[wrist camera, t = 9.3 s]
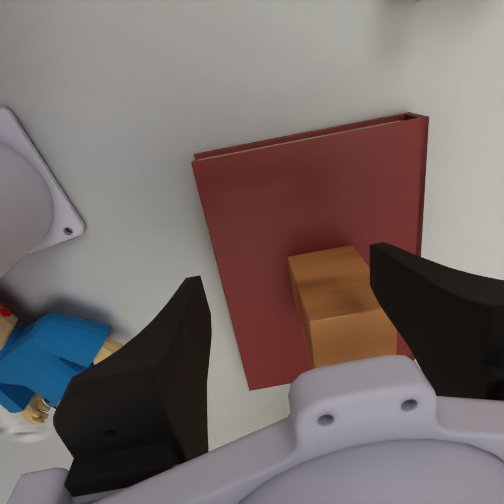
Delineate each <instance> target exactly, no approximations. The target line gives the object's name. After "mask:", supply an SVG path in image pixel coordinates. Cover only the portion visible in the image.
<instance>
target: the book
mask: <svg viewBox="0 0 504 504" xmlns="http://www.w3.org/2000/svg"><path fill="white" fill-rule="evenodd" d="M428 125H429V117H428V116H423V115H419V114H414V113H411V112H408V113H403V114H398V115H393V116H388V117H383V118H377V119H372V120H367V121H362V122H357V123H352V124H347V125H341V126H336V127H331V128H326V129H321V130H316V131H310V132H305V133H300V134H295V135H290V136H285V137H279V138H274V139H269V140H264V141H259V142H254V143H248V144H243V145H238V146H233V147H228V148H223V149H218V150H212V151H207V152H202V153H197V154H194V157H195V161H192V162H191V164H192V168H193V172H194V175H195V179H196V183H197V187H198V191H199V195H200V199H201V203H202V207H203V211H204V215H205V219H206V222H207V226H208V230H209V234H210V238H211V242H212V246H213V250H214V254H215V258H216V262H217V266H218V270H219V273H220V277H221V281H222V285H223V289H224V293H225V297H226V301H227V305H228V309H229V313H230V317H231V321H232V324H233V328H234V332H235V336H236V340H237V344H238V348H239V352H240V356H241V360H242V364H243V368H244V372H245V375H246V379H247V383H248V387H249V391H251V390H256V389H262V388H267V387H273V386H278V385H283V384H289V383H292V382H293V381H294V380H295V379H296V378H297V377H298V376H299V375H300V374H302V373H304V372H306V371H309V370H312V366H311V363H310V360H309V356H308V353H307V350H306V346H305V343H304V340H303V336H302V333H301V329H300V326H299V323H298V319H297V316H296V313H295V309H294V303H293V296H292V289H291V282H290V275H289V268H288V261H287V257H290V256H295V255H300V254H306V253H311V252H316V251H321V250H327V249H332V248H337V247H343V246H348V245H353V246H354V248H355V249H356V250H357V252H358V253H359V254H360V256H361V257H362V259H363V260H364V261H365V263H366V264H367V265H368V267H369V268H370V244H376V243H381V242H386V243H389V244H391V245H394V246H396V247H399V248H401V249H403V250H405V251H408V252H410V253H412V254H415V255H417V256H420V257H421V243H422V226H423V209H424V193H425V176H426V159H427V142H428ZM396 355H405V356H406V357H408V358H410V359H411V360H413V361H414V360H415V357H414V355H413V353H412V352H411V350H410V348H409V347H408V345H407V344H406V342H405V341H404V339H403V338H402V336H401V335H400V334H399V332H398V331H397V341H396Z"/></svg>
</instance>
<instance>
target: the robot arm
mask: <svg viewBox="0 0 504 504" xmlns="http://www.w3.org/2000/svg"><path fill="white" fill-rule="evenodd" d="M66 228H70V229H71V230H72V232H73V233H70V232H68V231H67V230H66ZM84 231H85V224H84V223H83V221H82V219H81V218H80V216H79V215H78V213H77V212H76V210H75V209H74V207H73V206H72V204H71V202H70V201H69V199H68V198H67V196H66V195H65V193H64V192H63V190H62V188H61V187H60V185H59V184H58V182H57V181H56V179H55V178H54V176H53V175H52V173H51V171H50V170H49V168H48V167H47V165H46V164H45V162H44V161H43V159H42V158H41V156H40V154H39V153H38V151H37V150H36V148H35V147H34V145H33V144H32V142H31V141H30V139H29V137H28V136H27V134H26V133H25V131H24V130H23V128H22V127H21V125H20V124H19V122H18V120H17V119H16V117H15V116H14V114H13V113H12V112H11V110H10V109H8V108H7V107H4V106H0V278H1V277H2V276H3V275H4V274H5V273H7V272H8V271H9V270H10V269H11V268H12V267H13V266H14V265H15V264H16V263H17V262H18V261H19V260H20V259H21V258H23V257H24V256H27V255H29V254H32V253H35V252H37V251H40V250H42V249H45V248H48V247H50V246H53V245H56V244H58V243H61V242H63V241H66V240H69V239H71V238H74V237H77V236H79V235H81V234H83V232H84ZM370 287H371V289H372V291H373V293H374V295H375V297H376V299H377V301H378V303H379V305H380V306H381V308H382V309H383V311H384V312H385V314H386V315H387V317H388V318H389V319H390V321H391V322H392V324H393V325H394V326H395V328H396V329H397V331H398V332H399V334H400V335H401V336H402V338H403V339H404V341H405V342H406V344H407V345H408V347H409V348H410V350H411V352H412V353H413V355H414V357H415V359H416V361H417V363H418V364H419V366H420V368H421V369H420V368H419V366H418V365H417V363H416V362H415V361H413V360H411V359H410V358H408V357H406V356H405V355H384V356H378V357H373V358H367V359H362V360H356V361H350V362H345V363H339V364H334V365H328V366H323V367H317V368H314V369H312V370H309V371H306V372H304V373H302V374H300V375H299V376H298V377H297V378H296V379H295V380H294V381H293V382H292V383H291V385H290V390H289V395H288V398H289V404H290V415H289V416H288V417H287V418H285V419H283V420H280V421H278V422H276V423H273V424H271V425H269V426H267V427H264V428H262V429H260V430H258V431H255V432H253V433H251V434H248V435H246V436H244V437H242V438H239V439H237V440H235V441H233V442H230V443H228V444H226V445H223V446H221V447H219V448H217V449H214V450H212V451H210V452H208V427H207V377H208V367H209V357H210V347H211V335H212V331H211V313H210V310H209V306H208V302H207V299H206V295H205V291H204V288H203V284H202V280H201V277H200V276H195V277H189V278H186V279H185V280H184V281H183V283H182V284H181V285H180V287H179V288H178V290H177V291H176V292H175V294H174V295H173V296H172V298H171V299H170V300H169V302H168V303H167V304H166V305H165V307H164V308H163V309H162V310H161V311H160V312H159V314H158V315H157V316H156V317H155V318H154V319H153V320H152V321H151V322H150V323H149V324H148V325H147V326H146V327H145V328H144V329H143V330H142V331H141V332H140V333H139V334H138V335H137V336H135V337H134V338H133V339H131V340H130V341H129V342H128V343H126V344H125V345H124V346H123V347H121V348H120V349H119V350H117V351H116V352H114V353H113V354H111V355H110V356H108V357H107V358H105V359H104V360H102V361H100V362H99V363H97V364H95V365H94V366H92V367H90V368H88V369H86V370H84V371H83V372H81V373H79V374H77V375H75V376H73V377H72V378H71V380H70V382H69V384H68V386H67V388H66V390H65V392H64V394H63V396H62V398H61V400H60V402H59V405H58V407H57V409H56V411H55V414H54V416H53V425H54V427H55V429H56V432H57V433H58V435H59V436H60V438H61V439H62V441H63V442H64V444H65V445H66V447H67V449H68V450H69V451H70V453H71V455H72V456H73V457H74V460H73V462H72V465H71V468H70V471H68V470H67V469H64V468H53V469H47V470H42V471H36V472H31V473H25V474H23V475H21V476H20V478H19V480H18V482H17V484H16V486H15V488H14V490H13V492H12V494H11V496H10V498H9V500H8V502H7V504H504V280H499V279H494V278H488V277H483V276H479V275H474V274H470V273H467V272H463V271H459V270H456V269H453V268H449V267H446V266H443V265H441V264H438V263H435V262H432V261H430V260H427V259H425V258H422V257H420V256H417V255H415V254H412V253H410V252H408V251H405V250H403V249H401V248H399V247H396V246H394V245H391V244H389V243H386V242H381V243H376V244H370ZM421 370H422V371H421Z"/></svg>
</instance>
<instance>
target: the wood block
mask: <svg viewBox="0 0 504 504" xmlns="http://www.w3.org/2000/svg"><path fill="white" fill-rule="evenodd" d="M287 261H288V268H289V275H290V282H291V289H292V296H293V303H294V309H295V313H296V316H297V319H298V323H299V326H300V329H301V333H302V336H303V340H304V343H305V346H306V350H307V353H308V356H309V360H310V363H311V366H312V369H314V368H317V367H323V366H328V365H334V364H339V363H345V362H350V361H356V360H362V359H367V358H373V357H378V356H384V355H396V341H397V329H396V328H395V326H394V325H393V324H392V322H391V321H390V319H389V318H388V317H387V315H386V314H385V312H384V311H383V309H382V308H381V306H380V305H379V303H378V301H377V299H376V297H375V295H374V293H373V291H372V289H371V287H370V268H369V267H368V265H367V264H366V263H365V261H364V260H363V259H362V257H361V256H360V254H359V253H358V252H357V250H356V249H355V248H354V246H353V245H348V246H343V247H337V248H332V249H327V250H321V251H316V252H311V253H306V254H300V255H295V256H290V257H287Z"/></svg>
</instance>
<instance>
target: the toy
mask: <svg viewBox="0 0 504 504" xmlns="http://www.w3.org/2000/svg"><path fill="white" fill-rule="evenodd" d="M17 320H18V318H17V317H15V316H14V315H13V313H12V312H11V311H10V310H9V309H7V308H6V307H5V306H3V305H2V304H1V303H0V404H1V405H2V406H3V407H4V408H6V409H7V410H8V411H9V412H11V413H17V412H21V414H22V416H23V417H24V418H25V419H26V420H27V421H29V422H31V423H32V424H43V423H44V419H47V418H48V414H47V413H44V412H42V411H49V410H50V408H49V407H47V406H46V405H45V404H44V403H43V401H42V398H43V400H44V401H45V402H46V404H47V405H48V406H50V407H53V408H55V409H57V407H58V405H59V402H60V400H61V398H62V396H63V394H64V392H65V390H66V388H67V386H68V384H69V382H70V380H71V378H72V377H73V376H75V375H77V374H79V373H81V372H83V371H84V370H86V369H88V368H90V367H92V366H94V365H95V364H97V363H99V362H100V361H102V360H104V359H105V358H107V357H108V356H110V355H111V354H113V353H114V352H116V351H117V350H119V349H120V348H121V347H123V345H122V344H121V343H119V342H116V341H114V340H112V339H109V338H107V336H108V334H109V332H110V329H111V326H109V325H105V324H102V323H98V322H95V321H91V320H88V319H84V318H78V317H73V316H67V315H62V314H56V313H50V314H46V315H44V316H42V317H41V318H39V319H38V321H37V322H34V323H32V324H29V325H27V326H25V327H23V328H20V327H19V326H16V327H14V326H15V324H16V322H17ZM92 361H93V362H94V363H92ZM41 410H42V411H41Z"/></svg>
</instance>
